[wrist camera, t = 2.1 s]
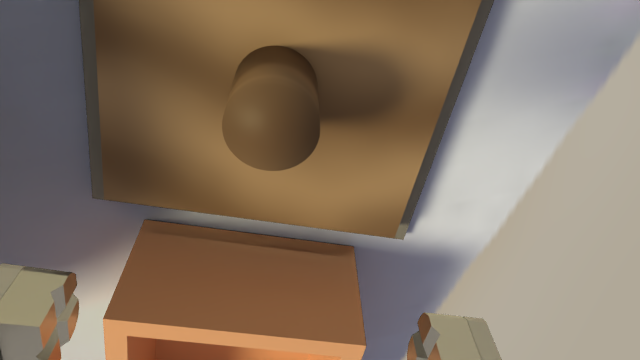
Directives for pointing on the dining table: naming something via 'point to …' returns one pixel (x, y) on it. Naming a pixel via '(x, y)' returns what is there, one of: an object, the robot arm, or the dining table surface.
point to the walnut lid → (274, 104)
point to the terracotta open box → (234, 298)
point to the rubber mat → (98, 193)
